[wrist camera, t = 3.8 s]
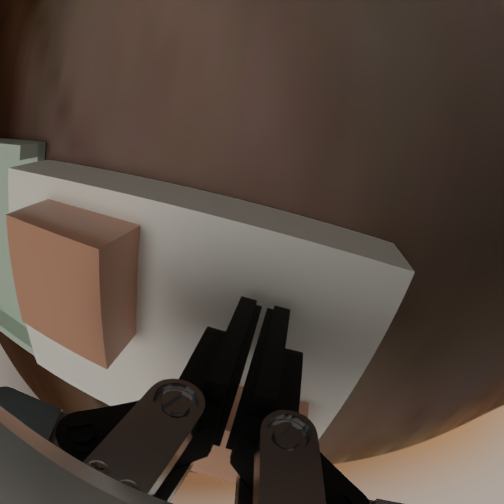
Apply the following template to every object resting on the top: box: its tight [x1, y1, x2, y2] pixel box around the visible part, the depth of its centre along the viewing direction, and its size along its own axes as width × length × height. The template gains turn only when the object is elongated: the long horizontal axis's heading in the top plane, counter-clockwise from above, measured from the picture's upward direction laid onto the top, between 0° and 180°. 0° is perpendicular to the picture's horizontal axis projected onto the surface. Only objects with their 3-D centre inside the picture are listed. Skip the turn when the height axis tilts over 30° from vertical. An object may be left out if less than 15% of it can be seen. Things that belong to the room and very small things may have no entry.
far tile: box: [191, 386, 309, 483], centre depth 12 cm, size 5×5×2 cm
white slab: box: [8, 160, 415, 439], centre depth 14 cm, size 18×13×3 cm
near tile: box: [6, 199, 140, 369], centre depth 10 cm, size 5×5×2 cm
